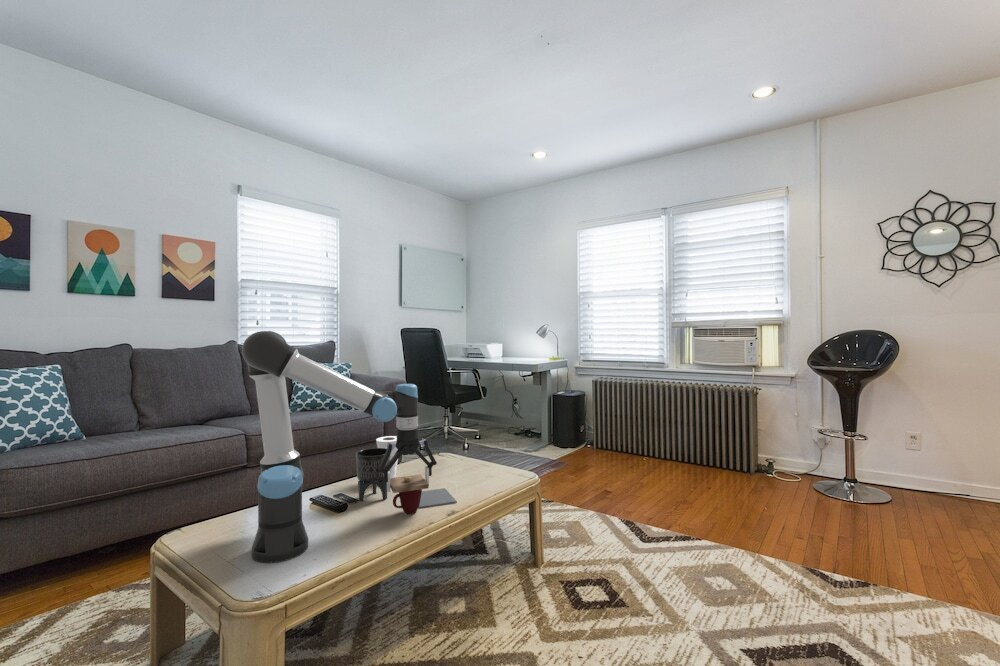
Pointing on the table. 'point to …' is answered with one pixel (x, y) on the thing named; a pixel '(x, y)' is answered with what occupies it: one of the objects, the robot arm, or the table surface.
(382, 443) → the paper towel roll
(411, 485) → the lid
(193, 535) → the table surface
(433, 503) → the mat
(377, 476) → the planter
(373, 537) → the table surface
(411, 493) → the mug
